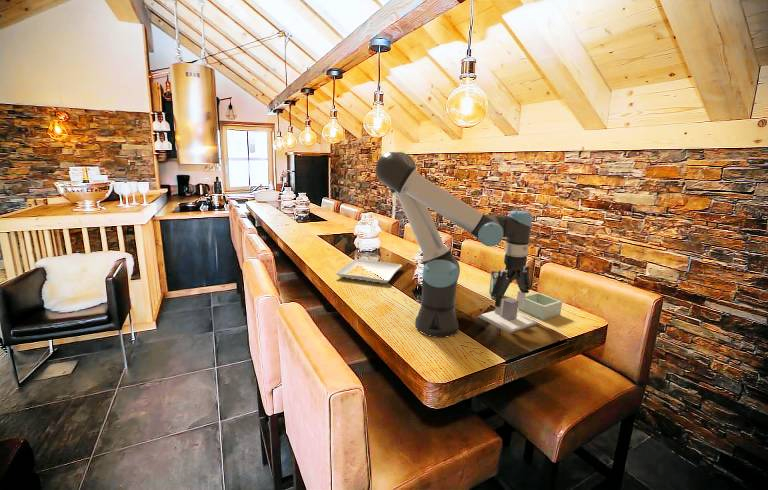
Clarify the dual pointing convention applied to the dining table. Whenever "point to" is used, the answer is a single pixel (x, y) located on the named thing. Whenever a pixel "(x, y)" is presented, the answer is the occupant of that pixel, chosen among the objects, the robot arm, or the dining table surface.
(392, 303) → the dining table surface
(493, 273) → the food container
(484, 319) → the mat
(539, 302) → the open square box
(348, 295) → the dining table surface
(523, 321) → the lid
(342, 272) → the square plate
